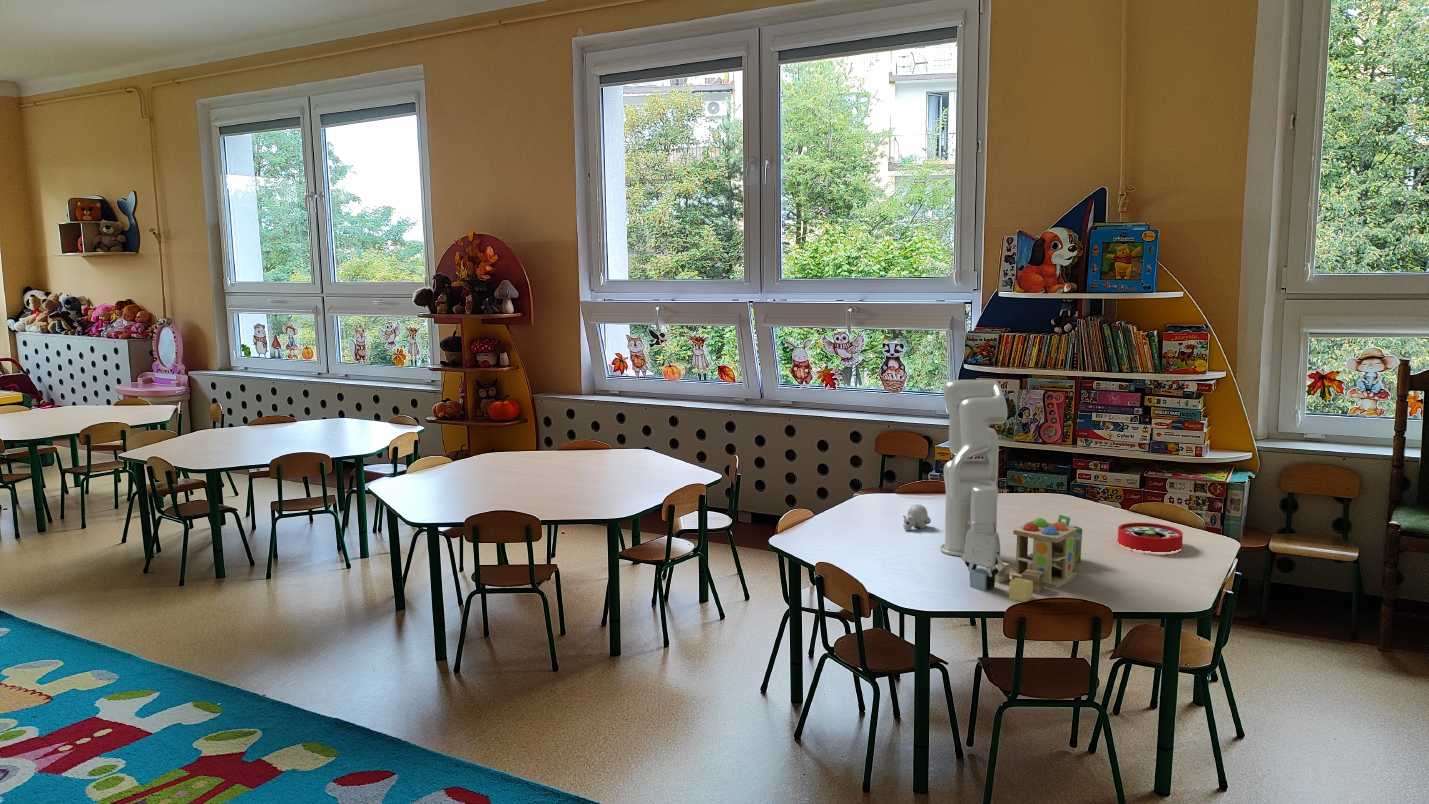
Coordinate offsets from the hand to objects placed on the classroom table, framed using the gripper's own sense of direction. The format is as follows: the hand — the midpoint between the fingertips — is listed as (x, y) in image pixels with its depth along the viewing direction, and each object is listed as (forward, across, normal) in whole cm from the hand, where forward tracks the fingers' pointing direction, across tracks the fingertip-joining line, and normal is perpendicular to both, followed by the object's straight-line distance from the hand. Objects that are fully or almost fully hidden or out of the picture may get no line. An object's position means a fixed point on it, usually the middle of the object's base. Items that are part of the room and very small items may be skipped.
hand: (982, 585), depth 280 cm
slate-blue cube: (+1, 0, 0) cm, 1 cm away
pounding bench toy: (+1, +8, +25) cm, 26 cm away
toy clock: (+1, +14, +76) cm, 78 cm away
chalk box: (+1, +2, +40) cm, 40 cm away
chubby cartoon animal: (+1, -54, +37) cm, 65 cm away
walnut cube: (+1, +11, +10) cm, 15 cm away
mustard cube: (+1, +13, 0) cm, 13 cm away
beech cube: (+1, -1, +10) cm, 10 cm away
